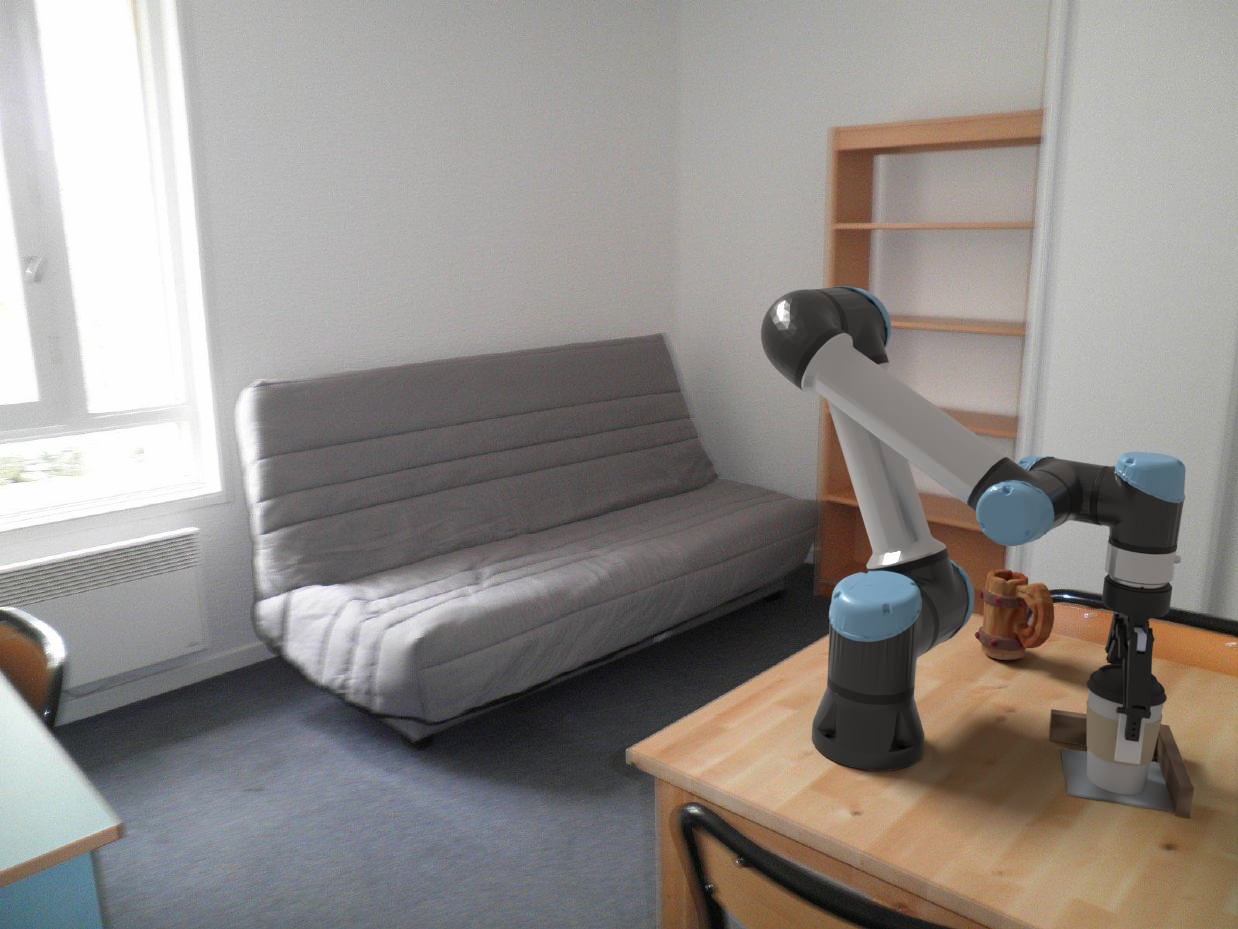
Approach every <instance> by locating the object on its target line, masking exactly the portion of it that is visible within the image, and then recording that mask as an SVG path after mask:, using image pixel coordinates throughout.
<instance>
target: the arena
mask: <svg viewBox="0 0 1238 929" xmlns="http://www.w3.org/2000/svg"><path fill="white" fill-rule="evenodd" d="M1048 740H1049V741H1053V742H1060V743H1067V744H1073V745H1079V746H1086V747H1087V713H1081V712H1080V713H1079V712H1074V711H1067V710H1060V709H1053V708H1051V709H1050V717H1049V728H1048ZM1059 750H1060V756H1061V762H1062V767H1063V768H1062V769H1063V774H1064V780H1065V786H1066V791H1067V792H1066V793H1067V796H1069V797H1070V796H1071V797H1078V798H1083V799H1089V800H1096V801H1102V802H1107V803H1114V804H1119V805H1127V806H1133V807H1138V808H1139V807H1140V808H1144V809H1145V808H1146V809H1150V810H1156V811H1163V812H1169V813H1174V814H1175V816H1176V817H1181V818H1186V819H1190V818H1191V813H1192V807H1193V806H1192V805H1193V799H1194V791H1195V787H1194V784H1193V783H1192V780H1191V776H1190V774H1189V773H1188V770H1187V768H1186V765H1185V763H1184V759H1183V758H1182V754H1181V751H1180V749H1179V747H1178V745H1177V741H1176V739H1175V737H1174V735H1173V732H1172V729H1171V727H1170V725H1168V724H1162V723H1161V725H1160V729H1159V733H1158V737H1157V741H1156V746H1155V750H1154V754H1153V757H1155V759H1156V761H1151V762H1150V766H1149V771H1148V775H1147V780H1146V784H1145V788H1144V790H1143V791H1142V792H1140V793H1137V794H1131V795H1126V794H1118V793H1113V792H1109V791H1107V790H1104V789H1102V788H1100V787H1098V786H1096V785H1094V784H1093V783H1092V782H1091V781H1090V780H1089V779H1088V777H1087V751H1082V750H1075V749H1071V748H1070V749H1069V748H1063V747H1060V749H1059Z"/></svg>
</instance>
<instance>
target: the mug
mask: <svg viewBox="0 0 1238 929" xmlns="http://www.w3.org/2000/svg"><path fill="white" fill-rule="evenodd" d="M986 576H987V577H986V584H985V585H984V586H983V588H982V590H981V591H979V593H978V596H979V598H981V599H982V600H983V601H984V602H983V618H982V626H980V627H979V628H978V631H976V632H975V633H974V637H975V638H976V639H977V641H978V642H979V643H981V645H980V647H981V650H982V652H983V653H984V654H985V655H986V656H988V657H990V658H992V659H994V660H995V659H996V660H1001V661H1003V660H1004V661H1012V660H1013V661H1015V660H1018V659H1022V658H1024V657H1025V656H1026V649H1029V650H1030V649H1034V648H1035V649H1037V648H1039V647H1041V646H1042V645H1044V643H1046V642H1047V640H1048V639H1049V638H1050V636H1051V633H1052V631H1053V628H1054V622H1055V607H1054V600H1053V598H1052V595H1051V593H1050V591H1049V588H1048V587H1047V585H1046V584H1045V583H1043V582H1035V583H1030V584H1029V577H1028V576H1026V575H1025V574H1024V573H1022V572H1017V571H1015V572H1013V571H1012V570H1010V569H1006V568H1005V569H1002V568H1001V569H1000V568H999V569H998V568H996V569H995V570H992V569H990V571H989V572H988V573H987V575H986ZM1028 608H1029V609H1030V610H1031V611H1032V617H1031V623H1030V624H1028V623H1027V618H1028V612H1029V610H1028Z"/></svg>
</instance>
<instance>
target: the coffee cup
mask: <svg viewBox="0 0 1238 929" xmlns="http://www.w3.org/2000/svg"><path fill="white" fill-rule="evenodd" d="M1086 686H1087V688H1088V693H1087V694H1088V695H1087V697H1088V698H1087V700H1086V714H1087V746H1086V747H1087V748H1086V749H1087V750H1086V752H1087V777H1088V779H1089V780H1090V781H1091V782H1092V783H1093V784H1094V785H1096V786H1098V787H1100V788H1102V789H1104V790H1107V791H1109V792H1113V793H1118V794H1126V795H1131V794H1137V793H1140V792H1142V791H1143V790H1144V788H1145V784H1146V780H1147V775H1148V771H1149V766H1150V762H1153V758H1154V755H1153V754H1154V750H1155V746H1156V741H1157V737H1158V733H1159V729H1160V725H1161V724H1162V720H1163V714H1162V712H1163V708H1164V704H1165V703H1166V701H1167V700H1168V696H1167V694H1166V693H1165V692H1166V690H1165V687H1164V686H1163V684H1161V682H1159V681H1158V679H1157V677H1156V676H1155V674H1153V673H1152V674H1151V706H1150V712H1151V716H1150V718H1149V719H1147V718H1146V719H1145V727H1144V735H1143V743H1142V751H1141V759H1140V764H1133V763H1127V762H1120V761H1115V758H1114V757H1115V749H1116V741H1117V732H1118V724H1119V716H1120V713H1116V709H1117V707H1123V664H1110V663H1108V664H1105V665H1102V666H1100V667H1099V668H1098V669H1097V670H1095V671H1093V672H1092V673H1091V674H1090V675H1089V679H1088V681H1087V682H1086ZM1136 706H1139V705H1136Z"/></svg>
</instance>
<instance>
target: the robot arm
mask: <svg viewBox="0 0 1238 929" xmlns="http://www.w3.org/2000/svg"><path fill="white" fill-rule="evenodd" d="M891 334H892V324H891V317H890V315H889V312H888V310H887V308H886V307H885V305H884V303H883V302H882V301H881V300H880V299H879V298H878V297H877V296H876V295H874V294H873V293H872V292H870V291H867V290H865V289H862V288H860V287H852V286H846V285H837V286H834V287H826V288H825V287H824V288H812V289H798V290H792V291H789V292H788V293H786V294H784V295H781V296H780V297H779V298H778V299H776V300H775V301H774V302H773V303H772V304H771V306H769V308H768V309H767V311H766V313H765V314H764V317H763V319H762V324H761V328H760V339H761V340H760V341H761V344H762V349H763V352H764V354H765V356H766V358H767V359H768V361H769V362H770V363H771V365H772V366H773V367H774V368H775V369H776V370H777V371H778V373H780V374H781V376H783V377H784V378H785V379H786V380H788V381H789V382H790V383H791V384H792V385H794V386H795V387H797V388H798V389H799V390H801V391H802V392H803V393H805V394H806V395H811V396H812V395H816V394H819V395H820V396H822V397H823V398H824V399H826V403H827V405H828V409H829V413H830V415H831V416H830V417H831V419H832V421H833V425H834V428H835V432H836V436H837V439H838V442H839V445H840V448H841V451H842V454H843V458H844V461H845V464H846V468H847V472H848V474H849V478H850V480H851V485H852V488H853V491H854V495H855V497H856V500H857V503H858V507H859V510H860V514H861V516H862V520H863V523H864V527H865V530H866V534H867V537H868V540H869V543H870V547H871V550H872V554H871V556H870V557H869V560H868V561H867V563H866V565H865V566H866V569H867V573H865V572H862V571H859V572H856V573H853V574H851V575H848V576H846V577H844V578H842V579H841V580H840V581H839V582H838V583H837V584H836V585H835V587H834V589H833V591H832V594H831V600H830V602H831V603H830V605H829V610H828V611H829V612H828V619H829V627H828V628H829V631H828V632H829V634H828V655H827V658H828V659H827V677H826V678H827V682H826V688H825V691H824V693H823V696H822V698H821V701H820V703H819V705H818V708H817V710H816V713H815V715H814V717H813V720H812V726H811V727H812V728H811V741H812V744H813V746H814V747H815V749H816V750H817V751H819V753H821V754H822V755H824V757H826V758H828V759H830V760H832V761H834V762H836V763H838V764H842V765H844V766H847V767H851V768H855V769H859V770H867V771H893V770H900V769H903V768H907V767H910V766H912V765H914V764H915V763H917V762H918V761H920V760H921V759H922V757H923V755H924V752H925V751H924V750H925V739H926V738H925V731H924V727H923V724H922V720H921V716H920V714H919V709H918V706H917V702H916V700H915V688H916V687H915V686H916V684H915V683H916V674H917V662H918V658H920V657H922V655H923V656H924V655H925V654H926V653H928V652H929V651H931V650H932V649H935V647H937V646H938V645H940V644H942V643H945V642H947V641H948V640H950V639H952V638H954V637H955V636H956V635H957V634H958V633H959V632H960V631H961V630H962V629H963V628H964V627H965V626H966V625H967V623H968V622H969V620H970V619H971V616H972V615H973V611H974V608H975V601H976V600H975V598H976V597H975V589H974V586H973V582H972V580H971V578H970V576H969V575H968V573H967V572H966V571H965V569H964V568H963V567H962V566H959V565H957V563H956V562H955V561H954V560H952V559H951V558H950V554H949V552H948V548H947V546H946V544H945V543H944V542H942V541H940V540H938V539H936V538H934V537H933V535H932V534H931V530H930V527H929V524H928V520H927V518H926V514H925V511H924V508H923V504H922V501H921V497H920V495H919V491H918V489H917V486H916V482H915V479H914V475H913V472H912V469H911V465H910V464H912V465H914V466H915V467H916V468H917V469H919V470H920V471H921V472H923V474H925V475H927V476H928V477H930V478H931V479H932V480H934V481H935V482H936V483H937V484H938V485H940V486H941V487H943V488H944V489H946V490H947V491H949V493H951V494H952V495H953V496H955V498H957V499H959V500H960V501H961V502H962V503H964V504H965V505H966V506H968V507H969V508H971V509H972V510H973V511H974V512H975V518H976V522H977V523H978V525H979V528H980V529H981V531H982V533H983V534H984V535H985V536H986V537H987V538H988V539H989V540H991V541H992V542H994V543H996V544H998V545H1001V546H1006V547H1017V546H1022V545H1024V544H1028V543H1031V542H1035V541H1037V540H1040V539H1041V538H1042V537H1044V535H1045V536H1046V534H1048V533H1049V532H1050V531H1052V530H1054V529H1057V528H1058V527H1060V526H1062V525H1063V524H1065V523H1067V522H1068V521H1073V522H1080V523H1084V524H1090V525H1095V526H1101V527H1102V526H1103V527H1105V526H1106V527H1107V528H1108V527H1109V535H1108V540H1107V547H1106V548H1107V549H1106V556H1105V565H1104V566H1105V567H1104V571H1105V572H1106V574H1107V575H1105V576H1104V579H1103V587H1102V594H1101V595H1102V596H1101V602H1102V603H1103V605H1104V606H1105V607H1106V608H1107V609H1109V610H1110V611H1112V612H1113V614H1112V619H1111V623H1110V628H1109V631H1108V635H1107V640H1106V645H1105V648H1104V651H1105V653H1106V654H1107V655H1106V657H1105V658H1106V659H1105V660H1106V662H1107V664H1123V707H1117V709H1116V713H1120V716H1119V724H1118V732H1117V741H1116V749H1115V757H1114V758H1115V761H1120V762H1127V763H1133V764H1140V759H1141V751H1142V743H1143V735H1144V727H1145V719H1146V718H1147V719H1149V718H1150V716H1151V712H1150V706H1151V674H1153V672H1152V669H1153V668H1152V666H1153V648H1154V642H1155V637H1154V634H1153V631H1154V630H1153V628H1152V627H1150V619H1153V618H1160V617H1164V616H1165V615H1167V614H1168V613H1169V612H1170V608H1171V600H1172V594H1173V592H1172V591H1173V586H1172V584H1171V582H1172V581H1173V580H1174V575H1175V574H1174V572H1175V566H1174V565H1175V564H1180V563H1181V560H1182V557H1181V556H1180V555H1177V550H1178V541H1179V535H1180V528H1181V521H1182V514H1183V508H1184V504H1185V503H1184V502H1185V500H1186V494H1185V486H1186V470H1187V469H1186V465H1185V464H1184V462H1183V461H1182V460H1180V459H1179V458H1177V457H1175V456H1172V455H1169V454H1163V453H1158V452H1142V451H1129V452H1125V453H1123V454H1121V455H1119V456H1118V458H1117V462H1116V464H1115V465H1111V466H1110V465H1102V464H1095V463H1089V462H1084V461H1083V462H1082V461H1074V460H1069V459H1063V458H1062V459H1061V458H1058V457H1055V456H1049V455H1048V456H1040V455H1039V456H1038V455H1026V456H1024V457H1022V458H1020V460H1018V462H1015V461H1013V460H1012V459H1010V458H1009V457H1008V456H1007V455H1005V454H1004V453H1003V452H1001V451H1000V450H999V449H997V448H995V447H994V446H993V445H991V444H990V443H989V442H987V441H986V440H984V439H983V438H982V437H980V436H978V435H977V434H976V433H975V432H973V431H972V430H970V429H968V427H966V426H965V425H963V424H962V423H960V422H959V421H958V420H956V419H955V418H953V417H952V416H950V415H949V414H947V413H946V412H945V411H944V410H942V409H941V408H939V407H938V406H937V405H935V404H934V403H932V402H931V401H929V400H928V399H927V398H925V397H924V396H923V395H921V394H920V393H918V392H917V391H915V390H914V389H912V388H911V387H909V386H908V385H907V384H906V383H904V382H902V381H901V380H900V379H899V378H897V377H896V376H894V375H893V374H892V373H890V372H888V370H889V367H890V366H891V363H890V361H889V357H888V355H887V351H886V348H887V347H888V345H889V344H888V343H889V340H890V339H891V336H892V335H891ZM1136 705H1139V706H1136Z"/></svg>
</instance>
